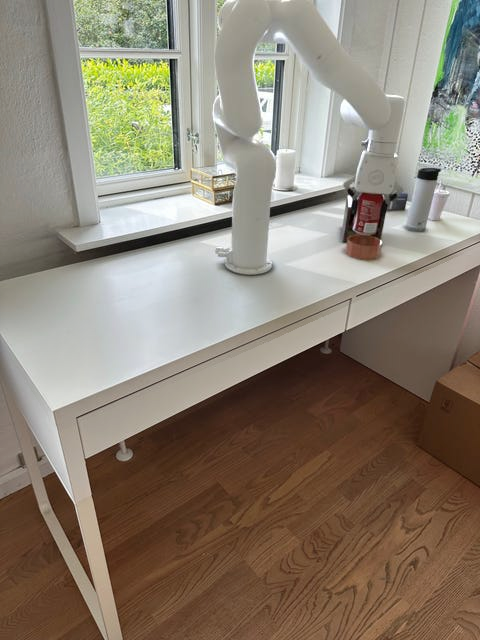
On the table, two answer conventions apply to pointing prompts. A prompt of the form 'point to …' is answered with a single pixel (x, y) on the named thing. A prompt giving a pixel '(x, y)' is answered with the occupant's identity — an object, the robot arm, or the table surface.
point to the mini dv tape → (398, 202)
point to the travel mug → (422, 199)
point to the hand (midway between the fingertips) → (367, 214)
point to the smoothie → (438, 203)
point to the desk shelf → (350, 219)
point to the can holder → (363, 247)
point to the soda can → (368, 213)
